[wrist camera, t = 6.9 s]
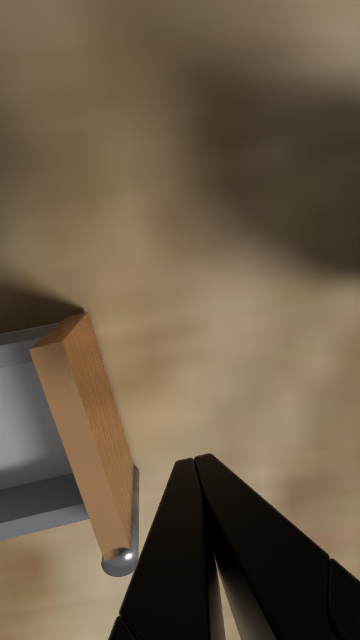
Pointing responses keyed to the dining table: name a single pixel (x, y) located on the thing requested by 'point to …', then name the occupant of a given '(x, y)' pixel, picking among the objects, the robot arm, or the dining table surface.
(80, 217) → the dining table surface
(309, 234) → the dining table surface
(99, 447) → the rectangular wooden block
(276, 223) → the dining table surface
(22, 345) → the grey shallow open box
